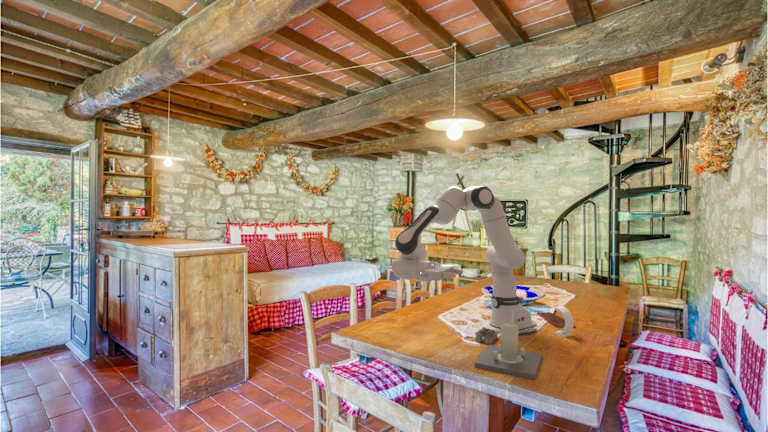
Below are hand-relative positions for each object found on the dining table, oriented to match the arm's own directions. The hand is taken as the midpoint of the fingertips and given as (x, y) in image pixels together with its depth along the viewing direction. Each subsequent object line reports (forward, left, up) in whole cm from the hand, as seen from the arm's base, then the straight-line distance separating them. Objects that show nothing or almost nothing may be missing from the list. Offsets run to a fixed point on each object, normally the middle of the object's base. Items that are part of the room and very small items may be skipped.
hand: (458, 273), depth 147 cm
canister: (-9, +19, -28) cm, 36 cm away
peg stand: (-9, +19, -30) cm, 37 cm away
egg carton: (-17, -4, -30) cm, 35 cm away
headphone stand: (-52, +3, -30) cm, 61 cm away
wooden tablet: (-67, -16, -31) cm, 75 cm away
